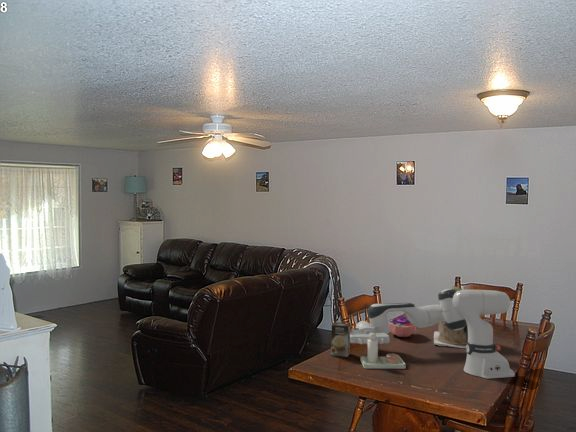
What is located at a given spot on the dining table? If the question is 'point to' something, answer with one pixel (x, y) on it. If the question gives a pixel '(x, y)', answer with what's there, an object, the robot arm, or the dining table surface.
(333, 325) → the coffee box
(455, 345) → the cookie jar
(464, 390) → the dining table surface
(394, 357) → the sugar pot
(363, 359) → the tray
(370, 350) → the bottle
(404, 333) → the cell model
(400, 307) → the robot arm
